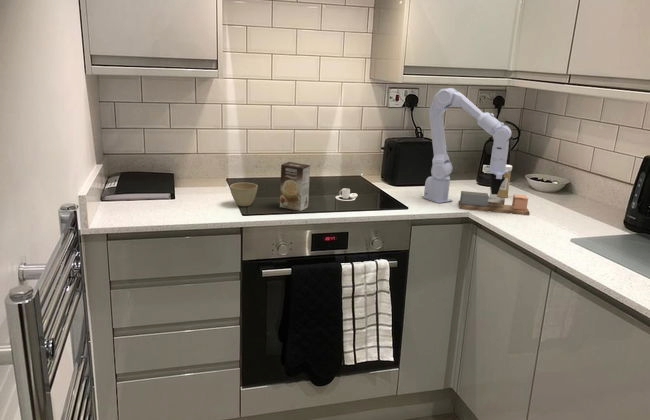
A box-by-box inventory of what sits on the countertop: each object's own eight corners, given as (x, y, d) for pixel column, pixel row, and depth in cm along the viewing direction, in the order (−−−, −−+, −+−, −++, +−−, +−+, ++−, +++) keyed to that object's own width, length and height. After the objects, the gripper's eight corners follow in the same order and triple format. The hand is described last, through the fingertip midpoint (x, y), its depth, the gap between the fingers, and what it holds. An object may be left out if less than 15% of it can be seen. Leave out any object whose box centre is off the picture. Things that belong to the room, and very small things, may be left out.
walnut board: (459, 208, 205) (459, 205, 204) (458, 203, 212) (458, 200, 212) (529, 215, 201) (529, 212, 200) (525, 209, 208) (525, 206, 208)
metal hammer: (465, 202, 206) (467, 183, 204) (464, 200, 209) (467, 181, 207) (504, 206, 204) (506, 186, 202) (503, 204, 206) (505, 185, 204)
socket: (513, 209, 202) (515, 197, 201) (511, 206, 207) (513, 194, 206) (526, 210, 202) (528, 198, 200) (523, 207, 207) (525, 195, 205)
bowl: (235, 199, 202) (235, 181, 200) (261, 202, 201) (261, 183, 199) (225, 206, 193) (225, 187, 191) (252, 209, 191) (252, 190, 189)
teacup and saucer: (357, 197, 216) (357, 187, 215) (357, 202, 208) (358, 192, 207) (335, 196, 216) (336, 186, 215) (335, 201, 208) (335, 191, 207)
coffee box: (278, 207, 196) (279, 164, 191) (287, 203, 201) (288, 161, 197) (301, 211, 192) (302, 167, 187) (309, 207, 198) (310, 164, 193)
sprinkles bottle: (510, 197, 225) (514, 165, 222) (503, 198, 223) (507, 166, 219) (501, 194, 229) (505, 163, 225) (494, 195, 227) (498, 164, 223)
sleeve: (460, 204, 206) (461, 193, 205) (459, 201, 210) (461, 190, 209) (487, 207, 204) (488, 196, 203) (485, 204, 208) (487, 193, 207)
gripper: (512, 163, 193) (507, 199, 197) (507, 155, 207) (502, 189, 211) (492, 161, 194) (487, 197, 198) (488, 154, 208) (483, 188, 212)
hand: (493, 193), depth 205 cm, fingers closed on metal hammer, 2 cm apart
